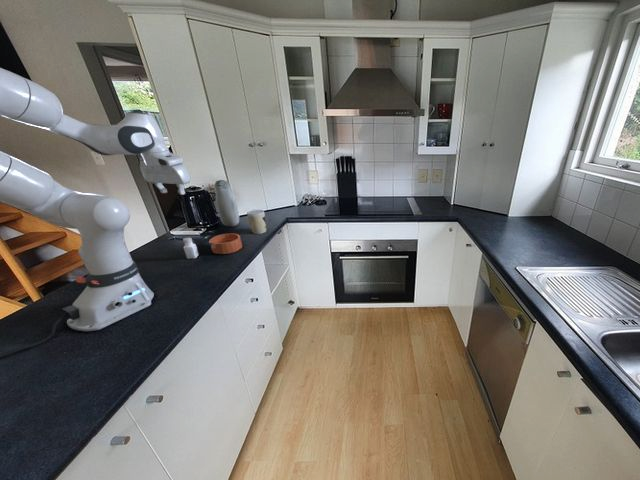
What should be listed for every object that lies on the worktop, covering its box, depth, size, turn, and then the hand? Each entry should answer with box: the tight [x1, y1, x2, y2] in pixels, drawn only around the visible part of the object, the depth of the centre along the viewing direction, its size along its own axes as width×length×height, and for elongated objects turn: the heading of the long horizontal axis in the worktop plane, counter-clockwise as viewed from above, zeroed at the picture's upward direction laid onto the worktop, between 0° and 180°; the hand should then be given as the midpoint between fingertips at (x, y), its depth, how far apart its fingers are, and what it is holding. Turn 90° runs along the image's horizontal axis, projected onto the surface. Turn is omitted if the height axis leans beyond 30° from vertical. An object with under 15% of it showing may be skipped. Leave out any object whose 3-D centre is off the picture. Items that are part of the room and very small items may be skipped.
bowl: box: [208, 232, 243, 255], centre depth 137 cm, size 14×14×6 cm
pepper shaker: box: [182, 237, 200, 260], centre depth 128 cm, size 4×4×10 cm
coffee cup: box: [246, 209, 267, 235], centre depth 158 cm, size 9×9×12 cm
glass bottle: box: [214, 179, 240, 228], centre depth 162 cm, size 10×10×28 cm
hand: (173, 193), depth 113 cm, fingers open, 8 cm apart
